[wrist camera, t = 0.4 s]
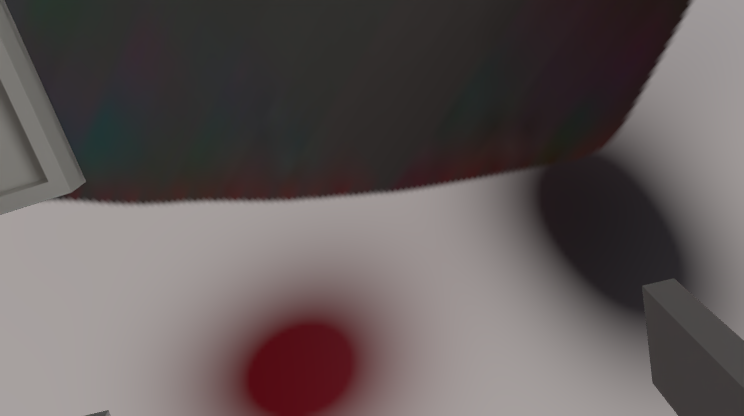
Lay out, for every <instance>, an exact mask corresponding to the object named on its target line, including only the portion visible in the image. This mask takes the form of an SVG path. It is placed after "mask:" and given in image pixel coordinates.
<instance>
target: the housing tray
mask: <svg viewBox="0 0 744 416" xmlns="http://www.w3.org/2000/svg"><path fill="white" fill-rule="evenodd" d="M85 182H86V180H85V178H84V176H83V174H82V171H81V169H80V167H79V165H78V163H77V160H76V158H75V156H74V154H73V151H72V149H71V147H70V145H69V143H68V140H67V138H66V136H65V134H64V132H63V129H62V127H61V125H60V123H59V120H58V118H57V116H56V114H55V112H54V109H53V107H52V105H51V103H50V101H49V98H48V96H47V94H46V92H45V89H44V87H43V85H42V83H41V81H40V78H39V76H38V74H37V72H36V69H35V67H34V65H33V63H32V61H31V58H30V56H29V54H28V52H27V50H26V47H25V45H24V43H23V41H22V38H21V36H20V34H19V32H18V30H17V27H16V25H15V23H14V21H13V18H12V16H11V14H10V12H9V10H8V7H7V5H6V3H5V1H4V0H0V215H1V214H4V213H8V212H11V211H14V210H17V209H20V208H23V207H27V206H30V205H33V204H36V203H39V202H43V201H46V200H49V199H52V198H55V197H58V196H62V195H65V194H68V193H71V192H73V191H74V190H75V189H77V188H78V187H79V186H81V185H82V184H83V183H85Z"/></svg>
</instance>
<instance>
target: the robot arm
mask: <svg viewBox="0 0 744 416" xmlns="http://www.w3.org/2000/svg"><path fill="white" fill-rule="evenodd" d="M642 289H643V298H644V307H645V317H646V326H647V335H648V345H649V354H650V363H651V372H652V381H653V384H654V385H655V386H656V388H657V389H658V390H659V392H660V393H661V394H662V395H663V397H664V398H665V399H666V401H667V402H668V403H669V404H670V406H671V407H672V408H673V409H674V411H675V412H676V413H677V415H678V416H744V341H743V340H742V339H741V338H740V337H739V336H738V335H737V334H736V333H734V332H733V331H732V330H731V329H730V328H729V327H728V326H727V325H725V324H724V323H723V322H722V321H721V320H720V319H719V318H718V317H717V316H715V315H714V314H713V313H712V312H711V311H710V310H709V309H707V308H706V307H705V306H704V305H703V304H702V303H701V302H700V301H699V300H697V299H696V298H695V297H694V296H693V295H692V294H691V293H690V292H688V291H687V290H686V289H685V288H684V287H683V286H682V285H681V284H679V283H678V282H677V281H676V280H675V279H669V280H665V281H661V282H657V283H652V284H648V285H644V286H642ZM86 416H110V414H109V411H108V410H107V411H103V412H99V413H94V414H90V415H86Z"/></svg>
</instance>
